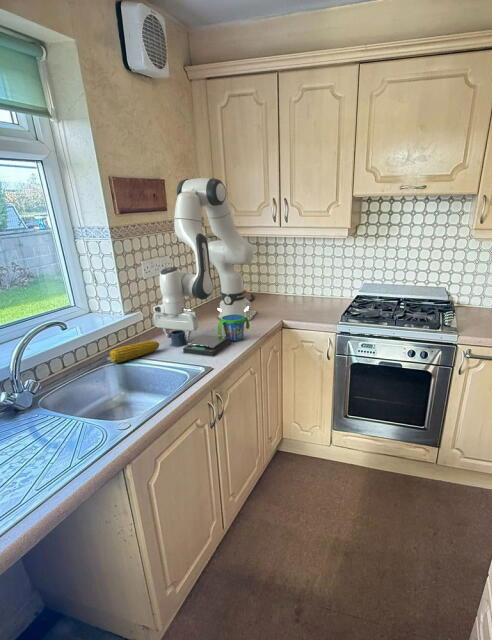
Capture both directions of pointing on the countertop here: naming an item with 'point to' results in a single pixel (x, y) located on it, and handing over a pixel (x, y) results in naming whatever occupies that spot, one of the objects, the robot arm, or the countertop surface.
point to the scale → (207, 349)
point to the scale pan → (207, 341)
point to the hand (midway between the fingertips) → (178, 338)
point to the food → (133, 351)
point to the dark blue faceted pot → (178, 338)
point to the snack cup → (233, 326)
